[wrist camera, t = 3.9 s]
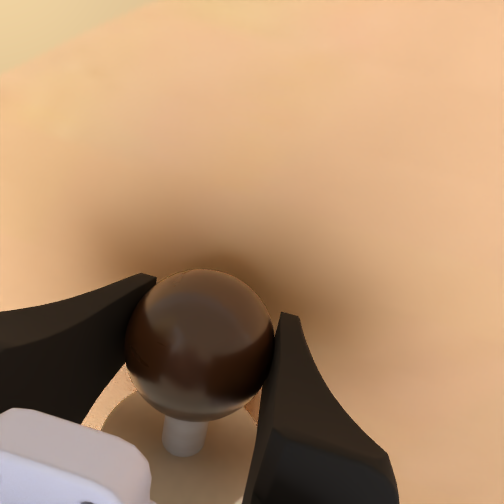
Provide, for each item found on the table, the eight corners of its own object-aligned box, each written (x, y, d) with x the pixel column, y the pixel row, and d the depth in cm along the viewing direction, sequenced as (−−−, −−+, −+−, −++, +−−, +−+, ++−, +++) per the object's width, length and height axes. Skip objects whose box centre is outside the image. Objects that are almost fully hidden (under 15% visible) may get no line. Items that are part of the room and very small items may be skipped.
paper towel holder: (222, 676, 13) (326, 390, 8) (35, 607, 14) (25, 302, 9) (256, 488, 20) (326, 263, 15) (127, 447, 20) (152, 218, 15)
